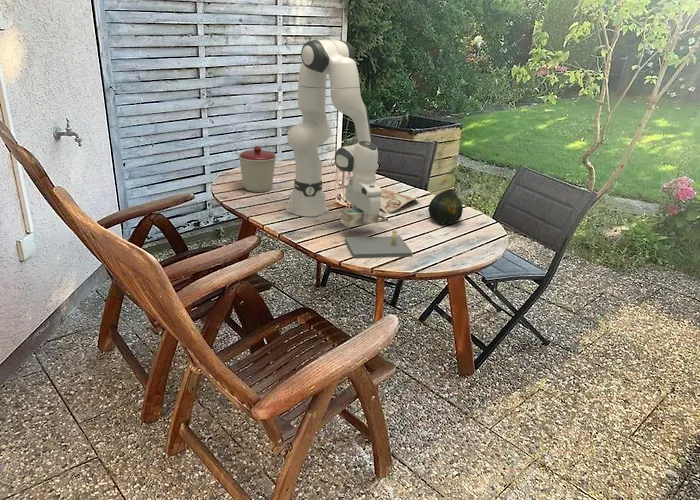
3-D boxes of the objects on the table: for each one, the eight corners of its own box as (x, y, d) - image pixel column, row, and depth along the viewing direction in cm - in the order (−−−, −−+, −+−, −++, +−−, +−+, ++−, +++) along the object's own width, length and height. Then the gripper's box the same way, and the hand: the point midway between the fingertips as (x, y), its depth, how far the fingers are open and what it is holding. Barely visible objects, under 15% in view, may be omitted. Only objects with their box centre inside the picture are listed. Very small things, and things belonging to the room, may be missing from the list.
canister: (232, 186, 258) (231, 143, 250) (266, 182, 268) (266, 140, 260) (247, 196, 245) (247, 151, 237) (283, 192, 254) (283, 148, 246)
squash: (424, 213, 221) (451, 189, 218) (420, 203, 235) (446, 180, 232) (447, 236, 225) (474, 212, 221) (441, 225, 239) (467, 202, 235)
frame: (347, 226, 203) (348, 214, 201) (340, 221, 208) (341, 209, 206) (388, 221, 213) (389, 209, 211) (380, 216, 217) (382, 204, 215)
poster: (423, 208, 255) (374, 192, 272) (426, 196, 253) (376, 180, 270) (390, 218, 234) (339, 199, 251) (392, 204, 232) (341, 186, 249)
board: (344, 240, 203) (345, 222, 200) (399, 239, 207) (401, 222, 204) (353, 258, 188) (354, 238, 185) (412, 256, 193) (414, 237, 190)
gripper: (342, 177, 209) (340, 210, 215) (370, 193, 193) (366, 228, 199) (356, 176, 212) (353, 208, 218) (384, 192, 196) (380, 226, 202)
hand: (359, 218), depth 208 cm, fingers closed on frame, 5 cm apart
